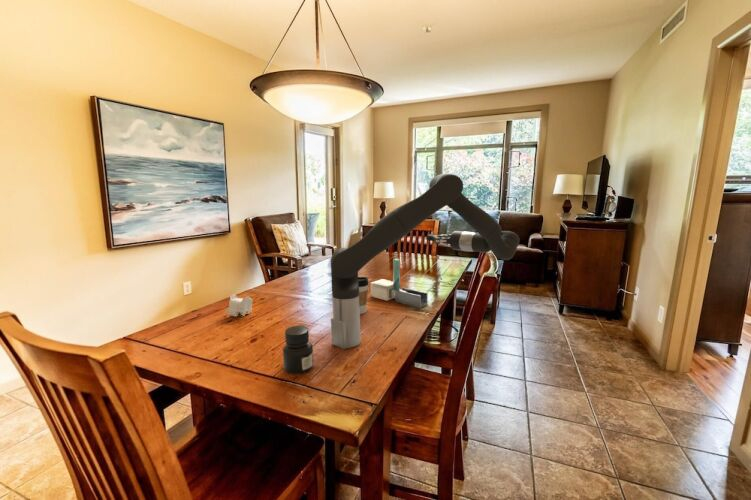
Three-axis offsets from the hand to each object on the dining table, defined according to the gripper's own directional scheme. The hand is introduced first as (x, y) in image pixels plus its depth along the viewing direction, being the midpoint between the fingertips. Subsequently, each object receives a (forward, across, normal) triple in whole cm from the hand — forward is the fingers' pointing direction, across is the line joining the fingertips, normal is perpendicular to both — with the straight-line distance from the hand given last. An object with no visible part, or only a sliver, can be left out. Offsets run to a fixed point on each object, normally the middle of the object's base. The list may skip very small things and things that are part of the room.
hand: (427, 237), depth 144 cm
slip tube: (+22, -2, +31) cm, 38 cm away
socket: (+26, -2, +32) cm, 41 cm away
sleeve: (+10, -2, +32) cm, 34 cm away
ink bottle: (+2, +66, +32) cm, 74 cm away
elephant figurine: (+58, +57, +32) cm, 88 cm away
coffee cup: (+21, +21, +32) cm, 44 cm away
